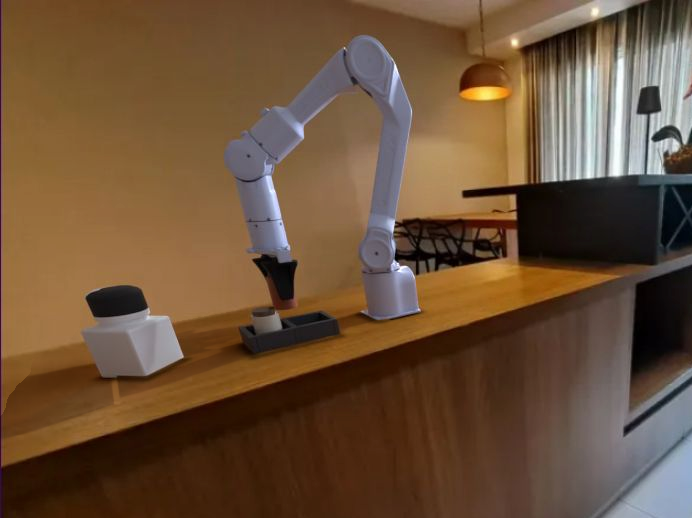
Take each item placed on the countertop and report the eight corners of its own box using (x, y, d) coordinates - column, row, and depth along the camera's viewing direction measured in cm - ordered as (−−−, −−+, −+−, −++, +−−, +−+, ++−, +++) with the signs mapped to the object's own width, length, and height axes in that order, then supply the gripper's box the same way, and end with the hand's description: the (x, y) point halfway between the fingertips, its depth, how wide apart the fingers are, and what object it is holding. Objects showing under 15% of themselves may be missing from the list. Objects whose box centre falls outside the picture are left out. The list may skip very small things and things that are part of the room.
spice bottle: (294, 302, 86) (284, 263, 82) (301, 307, 83) (291, 266, 80) (271, 307, 83) (260, 266, 80) (277, 311, 80) (266, 269, 77)
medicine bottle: (186, 360, 67) (157, 282, 62) (147, 379, 61) (111, 294, 56) (143, 359, 68) (112, 281, 63) (100, 378, 62) (61, 294, 57)
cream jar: (281, 336, 75) (273, 304, 72) (288, 342, 72) (280, 309, 70) (255, 342, 72) (246, 309, 70) (262, 348, 70) (252, 314, 67)
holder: (325, 327, 81) (321, 310, 79) (340, 336, 76) (337, 318, 75) (243, 345, 73) (238, 327, 71) (255, 357, 68) (249, 337, 67)
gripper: (229, 219, 79) (250, 294, 85) (249, 225, 69) (271, 308, 75) (270, 216, 83) (288, 287, 89) (295, 221, 73) (313, 301, 79)
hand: (283, 297), depth 82 cm, fingers closed on spice bottle, 4 cm apart
